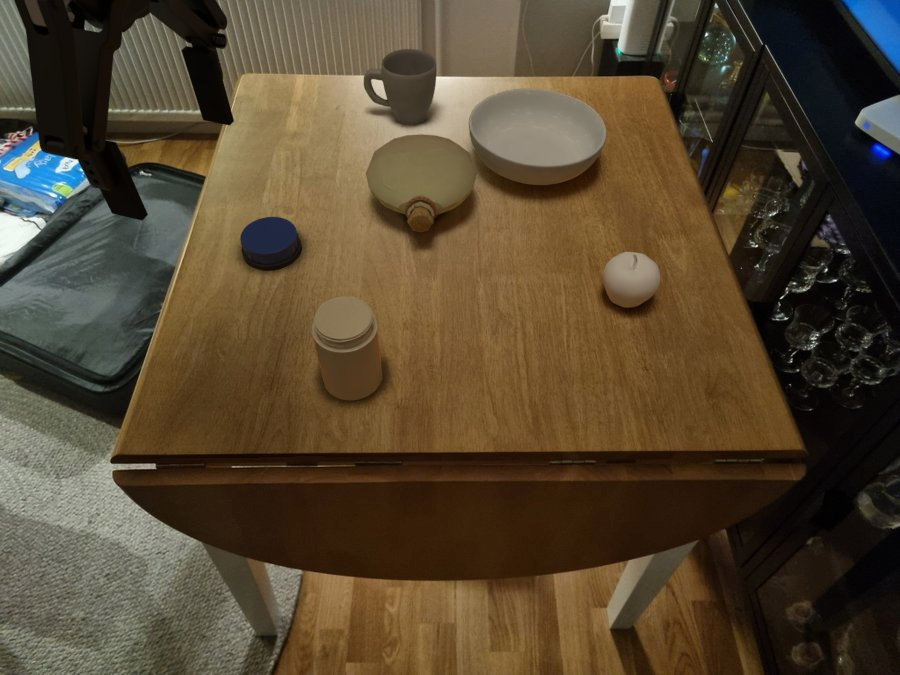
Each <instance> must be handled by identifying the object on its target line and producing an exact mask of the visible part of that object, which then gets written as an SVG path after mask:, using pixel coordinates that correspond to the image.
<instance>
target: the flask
mask: <svg viewBox="0 0 900 675" xmlns="http://www.w3.org/2000/svg"><path fill="white" fill-rule="evenodd" d="M365 171H366V172H365V177H366V180H367V185H368V188H369V190H370V192H371V193H372V195H373V196H374V197H375V198H376V199H377V200H378V201H379V202H380V203H381V204H382V205H383V207H385V208H387V209H389V210H390V211H393V212H396V213H400V214H404V215H405V216H406V218H407V220H406V222H407V224H408V225H409V226H410V228H411V229H412V231H414V232H418V233H424V232H427V231H429V230H430V229H431V227H432V226H433V225H434V223H435V219H436V218H437V217H438V216H439V215H440V214H443V213H447V212H450V211H452V210H453V209H456V208H457V207H459V206H460V205H461V204H462V203H463V202H464V201H465V200H467V198H468V197H469V196H470V195H471V193H472V191H473V189H474V187H475V183H476V179H477V175H478V173H477V170H476V167H475V164H474V162H473V159H472V157H471V154H470V152H469V151H468V150H466V149H465V148H464V147H462V146H461V145H459V143H457V142H455V141H454V140H451V139H450V138H448V137H443V136H439V135H433V134H409V135H403V136H402V135H401V136H398V137H395V138H392V139H391V140H390V141H388V142H386V143H385V144H383V145H382V146H381V147H379V148H377V149H376V150H374V152H373V154H372V156H371V159H370V161H369V165H368V166H367V169H366V170H365Z"/></svg>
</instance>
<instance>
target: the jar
mask: <svg viewBox="0 0 900 675" xmlns="http://www.w3.org/2000/svg"><path fill="white" fill-rule="evenodd" d="M311 335H312V339H313V344H314V348H315V352H316V357H317V361H318V365H319V369H320V374H321V377H322V383H323V386H324V388H325V389H326V391H327V392H328V393H329V394H330V395H331V396H333V397H335V398H337V399H339V400H342V401H358V400H363V399H365V398H367V397H369V396H371V395H372V394H374V393H375V392H376V390H378V388H380V385H381V383H382V381H383V376H384V373H383V363H382V353H381V345H380V344H381V343H380V335H379V325H378V320H377V317H376V316H375V313H373V310H372V308H371V306H370V305H369V303H367V302H366V301H365V300H362V299H361V298H358V297H356V296H350V295H342V296H335V297H332V298H330V299H328V300H326V301H324V302H323V303H322V304H320V306H319V307H317V310H316V311H315V314H314V318H313V322H312V324H311Z"/></svg>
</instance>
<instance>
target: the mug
mask: <svg viewBox="0 0 900 675" xmlns="http://www.w3.org/2000/svg"><path fill="white" fill-rule="evenodd" d="M372 80H376V81H381V82H382V85H383V89H384V93H385V97H386V98H383V97H381V96H380V95H378V94H377V92H376V91H375V89H374V86H373V83H372ZM436 83H437V61H436V59H435V57H434V56H433V55H432V54H431V53H429V52H427V51H424V50H421V49H416V48H403V49H397V50H394V51H391V52H389V53H388V54H386V55H385V56H384V57H383V59H382V60H381V68H373V67H371V68H368V70H366V71H365V73H364V75H363V88H364V90H365V92H366V94H367V96H368V97H369V99H370V100H371V101H372V102H373V103H374V104H377V105H380V106H384V107H390V109H391V111H392V112H393V114H394V117H395V120H396V121H397V122H398V123H401V124H403V125H408V126H409V125H410V126H412V125H417V124H421V123H422V122H424V121H425V120H426V118H427V114H428V113H429V110H430V108H431V105H432V103H433V100H434V96H435V91H436Z"/></svg>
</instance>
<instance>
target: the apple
mask: <svg viewBox="0 0 900 675" xmlns="http://www.w3.org/2000/svg"><path fill="white" fill-rule="evenodd" d="M602 284H603V286H604V290H605V292H606V295H607V297H608V299H609V300H610V302H612V303H613V304H614V305H617V306H618V307H622V308H624V309H625V308H626V309H628V308H635V307H639V306H640V305H642V304H644V303H645V302H647V301H648V300H650V299H651V298H652V297H653V296H654V295H655V294H656V292H657V291H658V290H659V287H660V285H661V272H660V268H659V266H658V265H657V263H656V262H655V261H654V260H652V258H650V257H649V256H647V254H644V253H642V252H635V251H624V252H621V253H619V254H617V255H615V256H613V257H612V258H610V260H608V261H607V263H606V265H605V266H604V269H603V271H602Z"/></svg>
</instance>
